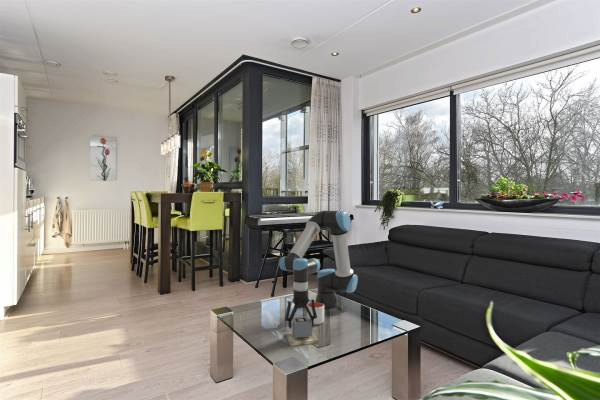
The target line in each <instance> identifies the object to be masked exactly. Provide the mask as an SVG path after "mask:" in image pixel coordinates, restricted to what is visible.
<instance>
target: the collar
mask: <svg viewBox="0 0 600 400" xmlns="http://www.w3.org/2000/svg"><path fill="white" fill-rule="evenodd" d="M299 319H303V320H304V322H298V320H299ZM292 321H293V336H294V338H299V337H309V336H312V332H313V326H312V322H311V320H310V319H309V318H308V317H307V315H306V316H297V317H295V316H294V317H293V319H292Z"/></svg>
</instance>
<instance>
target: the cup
mask: <svg viewBox="0 0 600 400" xmlns="http://www.w3.org/2000/svg"><path fill="white" fill-rule="evenodd" d="M314 306H315V311H316V315H317V318H315V319H314V320H313V326H316V325H317V326H318V325H322V324H323V323H324V322H325V308H324V304H322V303H318V302H315V301H314ZM307 307H308V309H309V311H310V312H311V314H312V316H313V312H312V308H311V303H310V302H308V304H307ZM306 316H307V317H308V318H309V319H310V316H309V314H308V313H307V312H306Z"/></svg>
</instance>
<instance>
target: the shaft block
mask: <svg viewBox="0 0 600 400" xmlns="http://www.w3.org/2000/svg"><path fill="white" fill-rule="evenodd" d="M298 322H304V320H303V319H299V320H298ZM284 336H285V337H286V340H287V342H288V344H289V346H290V347H292V346H303V345H310V344H311V345H312V344H313V345H314V344H319V339H318V338H317V336H316V334H315V333H314V331H312V336H309V337H299V338H294V336H293V335H291V330H290V331H284Z"/></svg>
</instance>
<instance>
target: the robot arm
mask: <svg viewBox="0 0 600 400" xmlns="http://www.w3.org/2000/svg"><path fill="white" fill-rule="evenodd" d="M351 221H352V220H351V217H350V215H349V213H348V212H346V211H343V210H320V211H318V212H316V213H315V214H313V215H312V216H311V217H310V218H309V219H308V221H307V222H306V224H305V228H304V230H303V231H302V233H301V234H300V236H299V237H298V238H297V241H295V244H294V245H293V247H292V248H291V250H290V252H289V253H288V254H287V256H286V255H285V256H282V257H280V259H279V263H278V267H279V269H281V270H283V271H286V272H292V273H293V274H292V277H293V280H292V281H293V282H292V283H293V286H292V287H293V291H292V292H293V294H292V295H293V298H292V299H291V300H289V299H288V300H287V301H286V302H287V306H286V307H287V308H286V311H285V312H286V313H285V316H284V320H285V322H288V328H289V329H290V331H291V335H293V321H292V319H293V318H294V317H295V315H296V312H297V310H298V309H302V308H304V309H305V311H306V314H307V313H308V314H309V316H310V320H311V322H312V327H313V326H314V325H313V320H314V319H315V318H317V315H316V311H315V306H314V302H318V303H322V304H324V309H330V308H331V309H333V308H336V307H338V306H339V301H338V300H339V299H338V298H337V294H336V292H337V291H338V292H343V293H350V294H351V293H352V294H353V293H354V292H355V290H356V289H357V286H358V281H359V277H358V275H357V274H354V269H352V268H351V263H350V255H349V247H348V240H347V234H348V232H349V230H350V229H351V226H352V225H351V224H352V222H351ZM323 230H327V231H328V234H329V235H330V236H332V237H331V238H332V244H333V251H334V258H335V259H334V260H335V266H336V268H335V269H334V268H325V269H321V270H320V268H321V263H320V261H319V259H318V258H314V257H313V258H304V255H305V254H306V252H307V251H308V249H309V247H310V246H311V244H312V242H313V241H314V239H315V237H316V235H318V234H319V233H320V232H321V231H323ZM316 273H317V277H316V279H317V280H316V281H317V294H316V296H315V299H314V298H309V276H310V275H313V274H316ZM308 303H311V308H312V312H313V316H312V314H311V312H310V311H309V309H308V307H307V304H308ZM293 304H294V305H293ZM292 306H293V307H292ZM291 308H292V309H291Z"/></svg>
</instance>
